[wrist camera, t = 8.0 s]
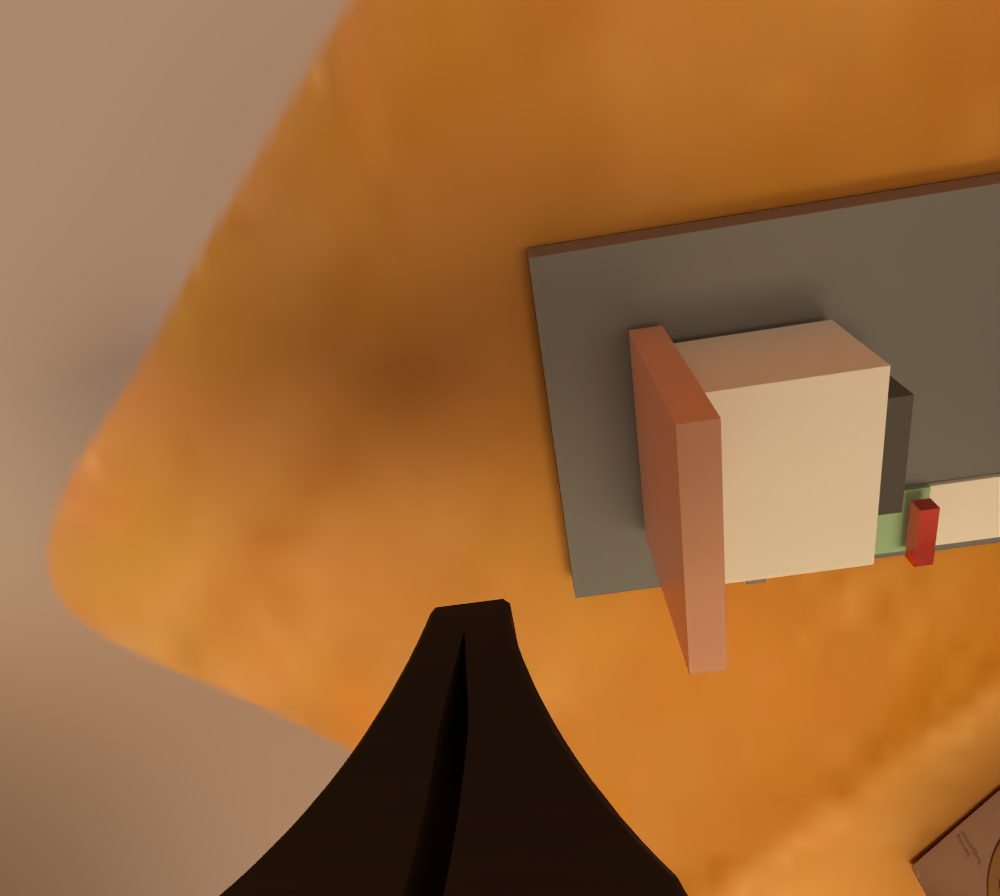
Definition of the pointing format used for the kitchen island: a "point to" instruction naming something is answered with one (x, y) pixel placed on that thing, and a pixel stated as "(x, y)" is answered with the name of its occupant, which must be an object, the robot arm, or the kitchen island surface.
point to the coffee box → (965, 857)
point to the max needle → (922, 532)
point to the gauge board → (772, 304)
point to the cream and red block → (761, 463)
